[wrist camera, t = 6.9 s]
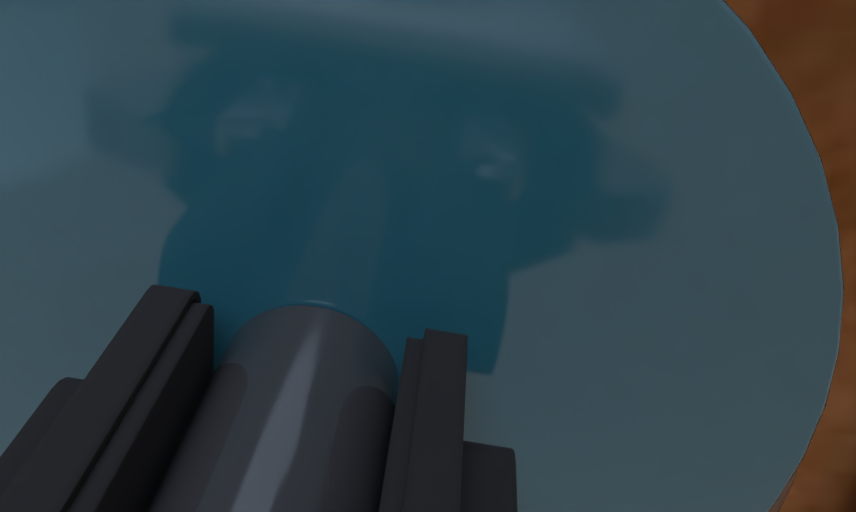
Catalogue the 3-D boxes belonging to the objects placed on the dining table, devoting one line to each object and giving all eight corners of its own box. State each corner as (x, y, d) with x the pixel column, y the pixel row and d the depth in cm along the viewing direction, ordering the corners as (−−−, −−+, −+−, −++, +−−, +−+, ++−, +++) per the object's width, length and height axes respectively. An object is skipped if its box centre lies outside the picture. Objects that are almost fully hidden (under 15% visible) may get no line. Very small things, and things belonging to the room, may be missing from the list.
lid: (-62, 563, 15) (-365, 982, 10) (-258, -304, 8) (-1576, -492, 3) (649, 674, 15) (735, 1146, 10) (1009, -87, 9) (1870, 96, 3)
